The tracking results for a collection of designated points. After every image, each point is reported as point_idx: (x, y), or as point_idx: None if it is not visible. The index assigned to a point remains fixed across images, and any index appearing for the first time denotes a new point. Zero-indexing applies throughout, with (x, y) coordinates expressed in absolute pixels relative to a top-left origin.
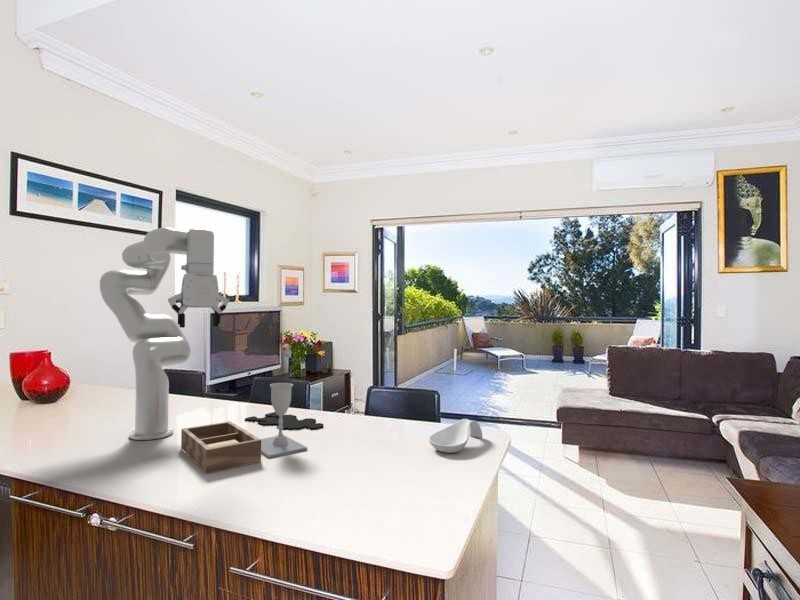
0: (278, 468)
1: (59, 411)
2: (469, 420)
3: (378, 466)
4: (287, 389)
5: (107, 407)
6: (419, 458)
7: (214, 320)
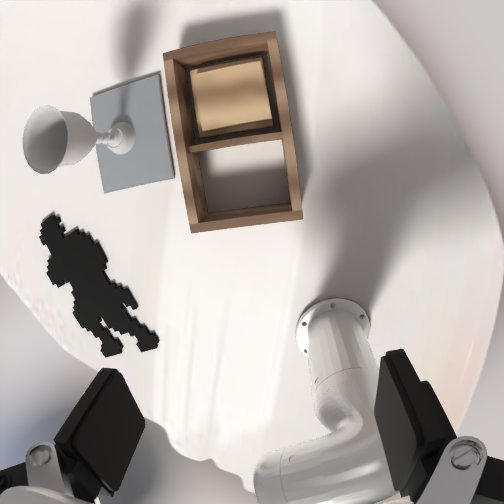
0: (161, 25)
1: None
2: None
3: (52, 7)
4: (43, 114)
5: None
6: (8, 30)
7: (117, 430)
